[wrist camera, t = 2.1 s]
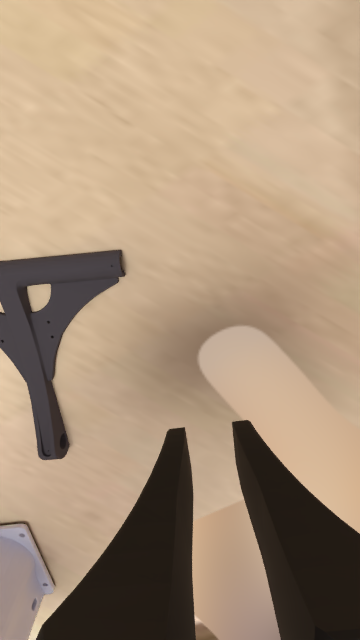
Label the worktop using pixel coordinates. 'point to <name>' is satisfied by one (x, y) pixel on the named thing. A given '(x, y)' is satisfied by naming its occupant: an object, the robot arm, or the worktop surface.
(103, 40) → the worktop surface
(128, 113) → the worktop surface
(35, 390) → the bracket
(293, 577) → the robot arm
